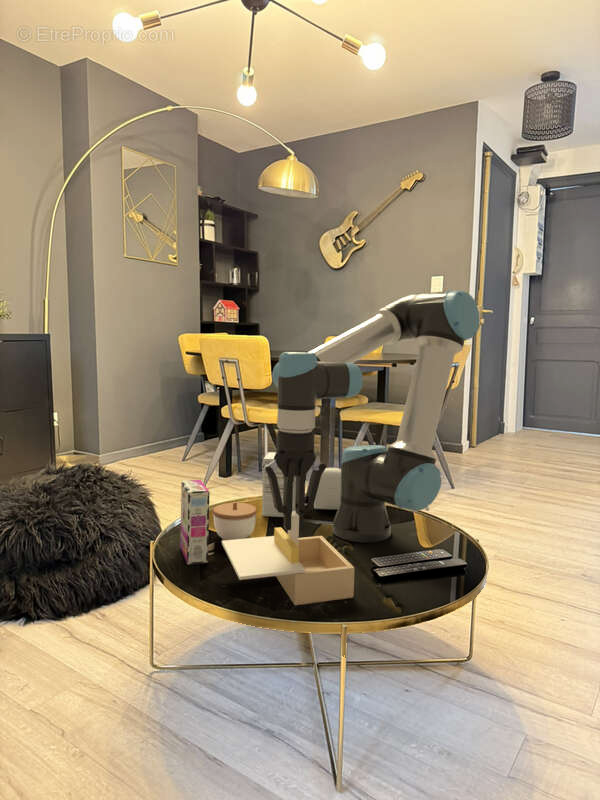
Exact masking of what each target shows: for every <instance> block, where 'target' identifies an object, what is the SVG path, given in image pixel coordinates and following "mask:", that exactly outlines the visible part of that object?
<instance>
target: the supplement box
mask: <svg viewBox="0 0 600 800" xmlns="http://www.w3.org/2000/svg"><path fill="white" fill-rule="evenodd" d="M275 454H276V452H275V451H274V452H273V451H272V452H271V451H269V452H267V454H266V455H265V456H264V458H262V466H263V465H264V464H269V463H270V462H272V461H273V460H274V456H275ZM276 469H277V472H276V473H275V474H276V477H277V481H278V485H279V490H280V494H281V499H282V504H283V492H284V478H283V473H282V471H281V470H280V469H279V467H278V466H276ZM261 492H262V493H261V494H262V496H261V497H262V499H261V500H262V503H261V505H262V506H261V507H262V508H261V516H262V517H272V518H273V517H276V518H284V513H279V512H278V511H277V510H276V509H275V506H274V502H273V497H272V493H271V488H270V484H269V479H268V475H267V474H266V472H265V471H264V469H263V468H262V491H261ZM295 494H296V478H295V476H294V482H293V503H292V511H295V512H296V510H295Z"/></svg>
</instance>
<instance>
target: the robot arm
mask: <svg viewBox="0 0 600 800" xmlns="http://www.w3.org/2000/svg"><path fill="white" fill-rule="evenodd" d="M479 311H480V310H479V308H478V305H477V302H476V301H475V298H474V297H473V296H472V295H471V294H470V293H468V291H465V290H452V289H450V290H447V291H446V290H445V291H436V292H435V291H434V292H433V291H432V292H423V293H420V292H419V293H413V294H409V295H406V296H403V297H401V298H399V299H397V300H395V301H393V302H391V303H389V304H387V305H385V306H384V307H382V308H380V309H378V310H376V311H374V313H373V314H372V316H371V318H369V319H368V320H366V321H364V322H362V323H361V324H360V323H359V325H357V326H355V327H352V328H351V329H349V330H347V331H345V332H343V333H341V334H340V335H337V336H336V337H334V338H332V339H330V340H328V341H326V342H325V343H324V344H323V343H322V344H321V345H319V346H318V347H315V348H314V349H312V350H310V351H308V352H304V351H302V352H301V351H300V352H299V351H298V352H297V351H285V352H284V351H283V352H282V353H281V354H280V355H279V359H278V362H277V363H276V364H275V365H274V367H273V369H272V376H271V377H272V381H273V385H274V386H275V387H276V388H277V421H276V424H277V425H276V427H277V428H278V430H277V432H276V450H275V451H276V452H275V453H276V454H275V456H274V460H273V461H272V462H270V463H269V464H264V465H263V464H262V470H263V469H264V471H265V472H266V474H267V475H268V479H269V484H270V488H271V493H272V497H273V502H274V506H275V509H276V510H277V511H278V512H279V513H284V517H283V528H284V530H286V531H287V535H288V536H289V537H290V538H291V539H292V540H293V542H294V543H295V544H296V545H297V546H298V541H299V538H300V537H299V535H300V533H299V531H300V530H303V528H304V516H305V515H306V512H308V511H312V510H313V509H314V502H315V498H316V494H317V490H318V486H319V482H320V479H321V475H322V474H323V472H324V470H325V469H326V468H327V464H325V463H324V462H322V461H319V460H318V459H317V457H316V456H317V455H316V454H315V451H314V450H315V432H314V431H313V430H314V429H315V427H316V403H317V402H316V400H320V399H323V400H324V399H325V400H326V399H343V400H344V399H346V398H353V397H356V396H357V395H358V394H359V393H360V392H361V390H362V387H363V381H364V380H363V378H364V376H363V372H362V370H361V368H360V367H359V366H358V365H357V364H355V362H357V361H359V360H361V359H362V358H364V357H366V356H368V355H369V354H371V353H373V352H374V351H376V350H378V349H380V348H381V347H383V346H385V345H394V344H396V343H397V342H399V341H403V340H411V339H414V341H415V343H416V345H417V346H418V347H419V349H418V353H417V357H416V360H415V361H416V362H415V365H414V368H413V369H414V370H413V373H412V378H411V381H410V385H409V389H408V393H407V397H406V400H405V405H404V408H403V414H402V417H401V421H400V425H399V429H398V433H397V438H396V441H394V442H392V443H391V444H390V445H388V447H387V446H386V445H379V444H377V445H375V444H374V445H373V444H371V445H370V444H369V445H367V444H366V445H355V446H354V445H353V446H348V447H346V448H344V450H343V451H342V455H341V461H340V469H341V498H340V505H339V508H338V509H336V510H337V511H336V513H335V516H334V519H333V521H332V533H333V534H334V535H335V537H338V538H341V539H342V540H345V541H349V542H355V543H367V544H368V543H378V542H382V541H385V540H388V539H389V538H390V537H391V530H392V527H391V522H390V519H389V515H388V511H387V508H386V504H390V505H393V506H396V507H398V508H399V509H403V510H409V511H413V512H418V511H419V512H420V511H422V510H425V509H427V508H428V506H430V505H432V504H433V503H434V501H435V500H436V498H437V497H438V495H439V492H440V489H441V486H442V477H441V474H442V473H441V471H440V469H439V468H438V466H436V461H437V456H436V455H435V453H434V452H433V445H434V442H435V437H436V433H437V429H438V424H439V421H440V417H441V413H442V409H443V404H444V400H445V397H446V396H445V395H446V392H447V388H448V385H449V384H448V383H449V379H450V375H451V371H452V367H453V364H454V358H455V356H456V355H457V354H458V353H460V352H462V351H463V349H464V344H465V341H466V340H467V341H468V340H471V339H472V338H474V337H475V336H476V335H477V333H478V330H479V327H480V312H479ZM276 466H278V467H279V469H280V470H281V471H282V473H283V478H284V492H283V504H282V499H281V494H280V490H279V485H278V481H277V477H276V474H275V473H276V472H277V469H276ZM311 468H312V470H311V474H310V478H309V482H308V485H307V489H306V482H307V474H308V472H309V471H310V469H311ZM294 476H295V478H296V494H295V510H296V511H292V503H293V482H294Z"/></svg>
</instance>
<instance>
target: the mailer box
mask: <svg viewBox="0 0 600 800" xmlns="http://www.w3.org/2000/svg"><path fill="white" fill-rule="evenodd" d="M298 547H299V557H298V561H299V563H300V564H301V565H302V566H303V568H304V569H305V572H304V573H295V574H287V575H278V576H275V578H276V579H277V581H278V582H279V583H280V585H281V586H282V588H283V590H284V591H285V593H286V594H287V595H288V597H289V599H290V600H291V602H292V603H293V605H294V606H298V605H300V606H301V605H307V604H314V603H315V604H316V603H321V602H330V601H335V600H336V601H338V600H345V599H352V598H354V594H355V593H354V592H355V590H354V589H355V588H354V587H355V567H354V566H353V565H352V563H351V562H349V561H348V560H347V558H345V557H344V555H342V554H341V553H340V552H339V551H338V550H337V549H336V548H335V547H334V546H333V545H332V544H331V543H330V542H328V541H327V539H326V538H325V537H324V536H323V535H315V536H307V537H299V541H298Z"/></svg>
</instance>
